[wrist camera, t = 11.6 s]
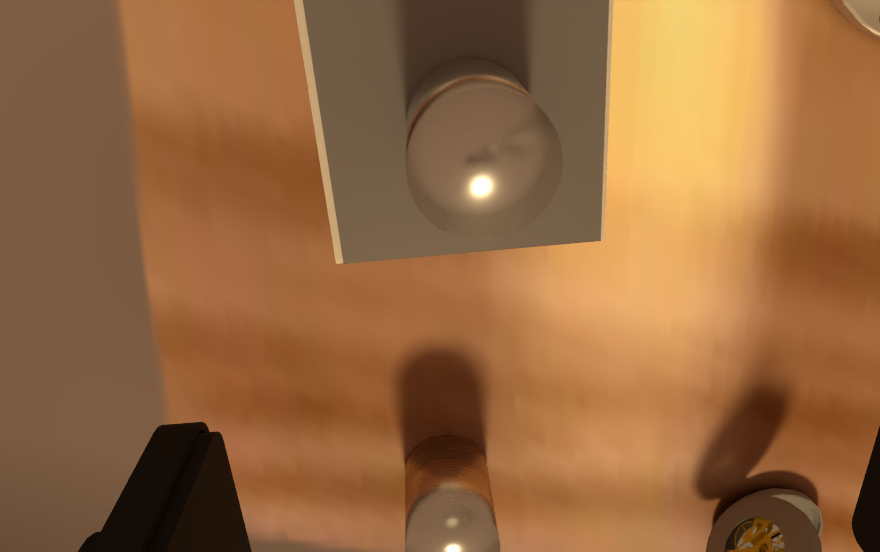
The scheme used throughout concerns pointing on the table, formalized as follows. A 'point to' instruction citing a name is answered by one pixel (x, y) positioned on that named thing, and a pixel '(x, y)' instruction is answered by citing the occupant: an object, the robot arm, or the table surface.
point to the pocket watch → (769, 524)
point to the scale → (396, 77)
